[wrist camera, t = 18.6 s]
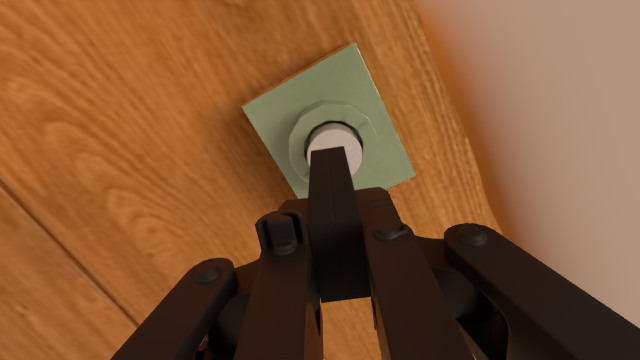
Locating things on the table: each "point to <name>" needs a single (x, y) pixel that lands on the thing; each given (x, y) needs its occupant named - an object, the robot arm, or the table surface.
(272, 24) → the table surface
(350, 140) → the button
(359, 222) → the robot arm
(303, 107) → the green button box
